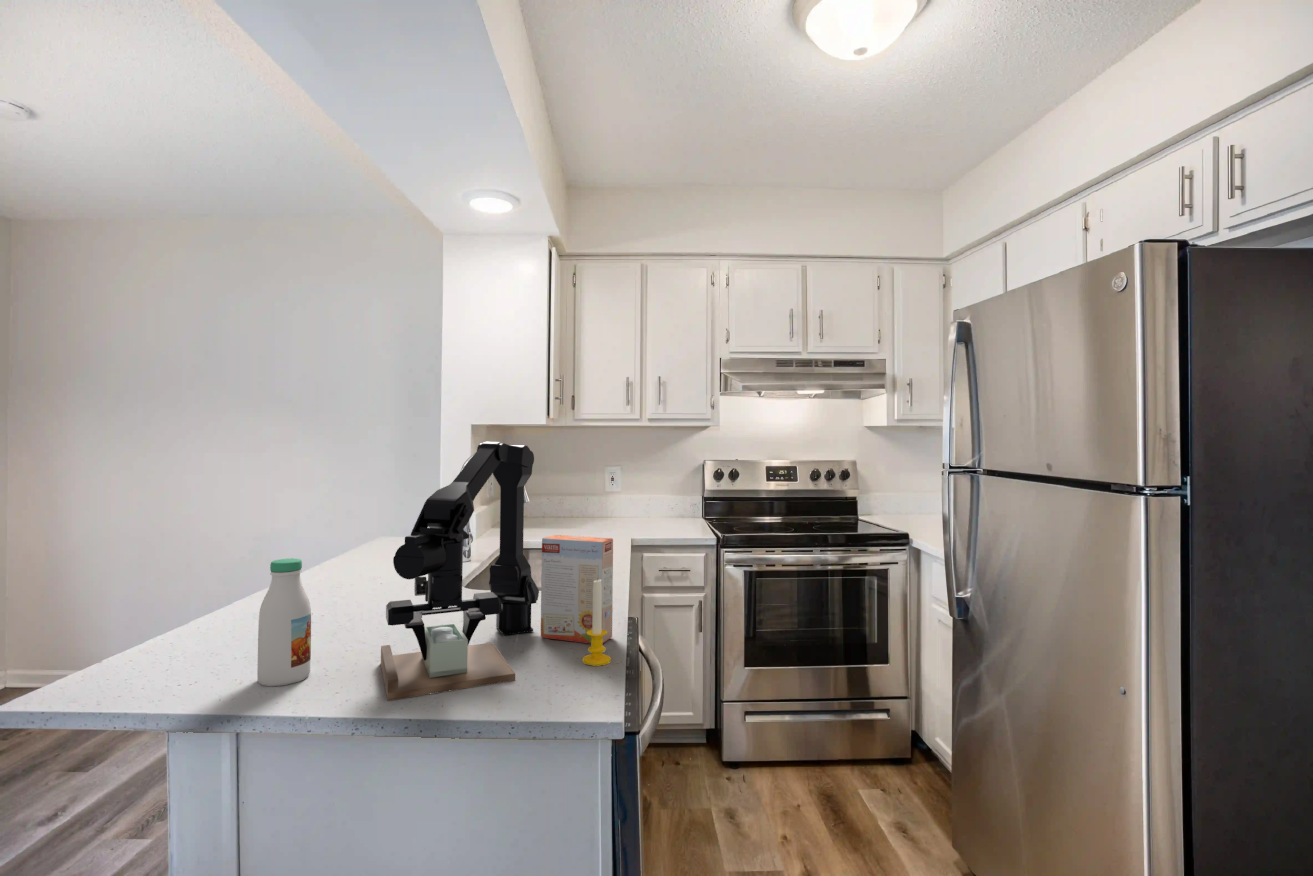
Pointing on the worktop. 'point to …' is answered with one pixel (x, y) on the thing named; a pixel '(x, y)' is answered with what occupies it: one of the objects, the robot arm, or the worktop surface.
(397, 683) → the walnut shelf
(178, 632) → the worktop surface
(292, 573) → the milk bottle
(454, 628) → the pale green crate
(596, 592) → the candle
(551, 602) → the cracker box
